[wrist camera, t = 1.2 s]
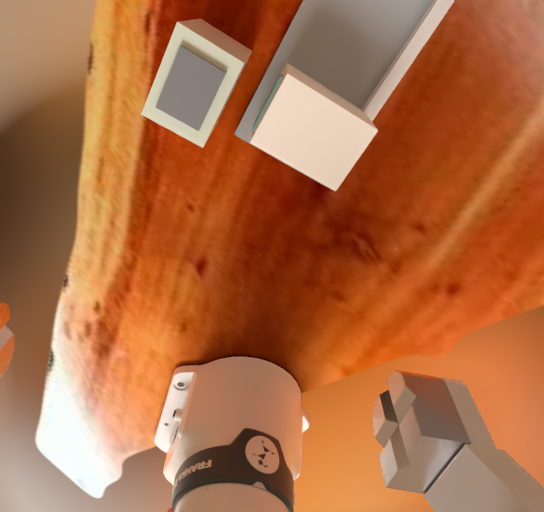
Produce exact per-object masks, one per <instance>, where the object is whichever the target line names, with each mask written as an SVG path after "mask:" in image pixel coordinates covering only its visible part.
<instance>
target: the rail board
mask: <svg viewBox="0 0 544 512" xmlns="http://www.w3.org/2000/svg"><path fill="white" fill-rule="evenodd" d="M454 1H455V0H303V1H302V3H301V4H300V6H299V8H298V10H297V12H296V14H295V16H294V18H293V20H292V22H291V24H290V26H289V28H288V30H287V32H286V34H285V35H284V37H283V39H282V41H281V43H280V45H279V47H278V49H277V51H276V53H275V55H274V57H273V59H272V61H271V63H270V65H269V66H268V68H267V70H266V72H265V74H264V76H263V78H262V80H261V82H260V84H259V86H258V88H257V90H256V92H255V94H254V96H253V97H252V99H251V101H250V103H249V105H248V107H247V109H246V111H245V113H244V115H243V117H242V119H241V121H240V123H239V125H238V127H237V128H236V131H235V133H234V135H235V136H237V137H239V138H241V139H242V140H244V141H246V142H248V143H249V144H251V145H253V146H255V147H257V148H258V149H260V150H262V151H264V152H265V153H267V154H269V155H271V156H272V157H274V158H276V159H278V160H280V161H281V162H283V163H285V164H287V165H288V166H290V167H292V168H294V169H295V170H297V171H299V172H301V173H303V174H304V175H306V176H308V177H310V178H311V179H313V180H315V181H317V182H318V183H320V184H322V185H324V186H326V187H328V188H330V189H332V190H334V191H336V190H337V189H338V188H339V186H340V185H341V183H342V182H343V180H344V179H345V178H346V176H347V175H348V173H349V172H350V170H351V169H352V168H353V166H354V165H355V163H356V162H357V160H358V159H359V157H360V156H361V155H362V153H363V152H364V150H365V149H366V147H367V146H368V145H369V143H370V142H371V140H372V139H373V137H374V136H375V135H376V133H377V132H378V129H377V128H376V127H375V125H374V124H373V123H372V121H373V120H374V118H375V117H376V115H377V114H378V112H379V111H380V109H381V108H382V107H383V105H384V104H385V102H386V101H387V99H388V98H389V96H390V95H391V93H392V92H393V90H394V89H395V87H396V86H397V85H398V83H399V82H400V80H401V79H402V77H403V76H404V74H405V73H406V71H407V70H408V68H409V67H410V65H411V64H412V63H413V61H414V60H415V58H416V57H417V55H418V54H419V52H420V51H421V49H422V48H423V46H424V45H425V43H426V42H427V41H428V39H429V38H430V36H431V35H432V33H433V32H434V30H435V29H436V27H437V26H438V24H439V23H440V21H441V20H442V19H443V17H444V16H445V14H446V13H447V11H448V10H449V8H450V7H451V5H452V4H453V2H454Z"/></svg>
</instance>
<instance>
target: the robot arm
mask: <svg viewBox="0 0 544 512" xmlns="http://www.w3.org/2000/svg"><path fill="white" fill-rule="evenodd" d="M9 319H10V313H9V309H8V305H6V304H4V303H2V302H0V377H1V376H2V375H3V373H4V372H5V370H6V369H7V367H8V365H9V363H10V360H11V358H12V355H13V350H14V337H13V333H12V332H11V331H10V330H9V329H8V328H7V327H6V326H5V324H6V323H7V321H8V320H9ZM387 384H388V388H389V390H387V391H385V392H383V393H382V394H380V395H379V397H378V399H377V401H376V403H375V405H374V411H373V417H372V418H373V430H374V435H375V438H376V439H377V440H378V442H379V443H380V444H381V445H382V446H383V448H384V449H383V450H382V452H381V454H380V456H379V459H380V463H381V468H382V472H383V477H384V481H385V486H386V488H392V489H398V490H404V491H409V492H415V493H421V494H425V495H424V497H425V499H426V500H427V501H428V503H429V504H430V506H431V507H432V509H433V510H434V511H435V512H544V487H543V486H542V485H540V483H538V482H537V481H536V480H535V479H534V478H533V477H532V476H531V475H530V474H529V473H527V472H526V470H525V469H524V468H522V467H521V466H520V465H519V464H518V463H517V462H516V461H515V460H514V459H513V458H512V457H511V456H510V455H509V454H508V453H506V452H505V451H504V450H501V449H497V448H496V446H495V444H494V442H493V440H492V437H491V436H490V433H489V431H488V429H487V427H486V425H485V423H484V421H483V419H482V417H481V415H480V413H479V411H478V409H477V407H476V404H475V402H474V400H473V398H472V396H471V394H470V392H469V390H468V388H467V386H466V385H465V384H464V383H463V382H462V381H459V380H453V379H446V378H440V377H439V378H438V377H434V376H427V375H421V374H415V373H410V372H403V371H397V370H396V371H394V372H393V373H392V374H391V375H390V377H389V378H388V380H387ZM309 422H310V418H309V416H308V414H307V413H306V411H305V410H304V408H303V407H302V398H301V391H300V388H299V386H298V384H297V382H296V381H295V379H294V378H293V377H292V376H291V375H290V374H289V373H288V372H287V371H285V370H284V369H282V368H281V367H279V366H277V365H275V364H273V363H271V362H268V361H265V360H262V359H258V358H252V357H228V358H222V359H218V360H215V361H212V362H209V363H207V364H203V365H188V366H180V367H177V368H176V369H175V370H174V373H173V376H172V379H171V383H170V386H169V389H168V393H167V396H166V399H165V403H164V406H163V409H162V413H161V416H160V420H159V423H158V426H157V430H156V433H155V438H154V443H155V444H156V445H157V446H158V447H159V448H160V449H161V450H162V451H164V452H165V453H167V457H166V461H165V465H164V470H163V473H164V476H165V478H166V479H167V480H168V481H169V482H170V483H171V484H172V485H173V490H172V508H170V509H169V510H168V511H167V512H294V504H295V493H294V480H295V479H296V478H297V477H299V474H300V470H301V452H302V432H304V431H305V430H307V429H308V428H309Z"/></svg>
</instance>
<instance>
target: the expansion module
mask: <svg viewBox="0 0 544 512" xmlns="http://www.w3.org/2000/svg"><path fill="white" fill-rule="evenodd" d="M251 53H252V50H250V49H249V48H247V47H245V46H244V45H242V44H241V43H239V42H237V41H236V40H234V39H233V38H231V37H229V36H228V35H226V34H225V33H223V32H221V31H220V30H218V29H217V28H215V27H213V26H212V25H210V24H209V23H207V22H206V21H204V20H202V19H201V18H200V19H193V20H186V21H179V22H177V24H176V26H175V29H174V31H173V34H172V36H171V39H170V42H169V44H168V47H167V49H166V52H165V54H164V57H163V60H162V62H161V65H160V67H159V70H158V72H157V75H156V78H155V80H154V83H153V85H152V88H151V90H150V93H149V96H148V98H147V101H146V103H145V106H144V108H143V111H142V114H141V115H143V116H145V117H147V118H149V119H151V120H152V121H154V122H156V123H158V124H160V125H162V126H163V127H165V128H167V129H169V130H171V131H173V132H174V133H176V134H178V135H180V136H182V137H184V138H185V139H187V140H189V141H191V142H193V143H195V144H196V145H198V146H200V147H202V148H203V147H204V145H205V144H206V142H207V140H208V138H209V137H210V135H211V133H212V131H213V130H214V128H215V126H216V124H217V122H218V121H219V119H220V117H221V115H222V113H223V111H224V108H225V106H226V104H227V102H228V100H229V98H230V96H231V94H232V92H233V90H234V88H235V86H236V84H237V82H238V80H239V78H240V76H241V74H242V72H243V70H244V68H245V65H246V63H247V61H248V59H249V57H250V55H251Z"/></svg>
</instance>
